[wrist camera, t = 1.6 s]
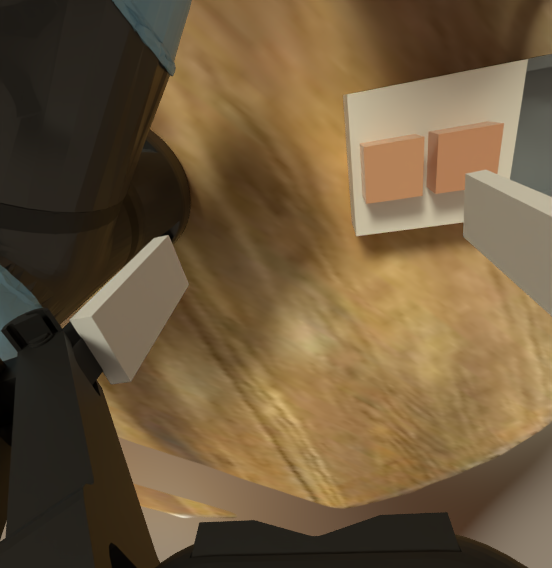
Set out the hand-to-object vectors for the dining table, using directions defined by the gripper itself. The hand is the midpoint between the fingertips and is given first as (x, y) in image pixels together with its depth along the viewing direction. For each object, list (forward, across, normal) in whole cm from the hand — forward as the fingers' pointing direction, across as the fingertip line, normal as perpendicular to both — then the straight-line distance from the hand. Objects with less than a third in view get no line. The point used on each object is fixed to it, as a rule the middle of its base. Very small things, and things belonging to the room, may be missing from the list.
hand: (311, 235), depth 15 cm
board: (+20, +10, -2) cm, 23 cm away
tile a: (+16, +7, -2) cm, 18 cm away
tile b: (+16, +12, -2) cm, 20 cm away
